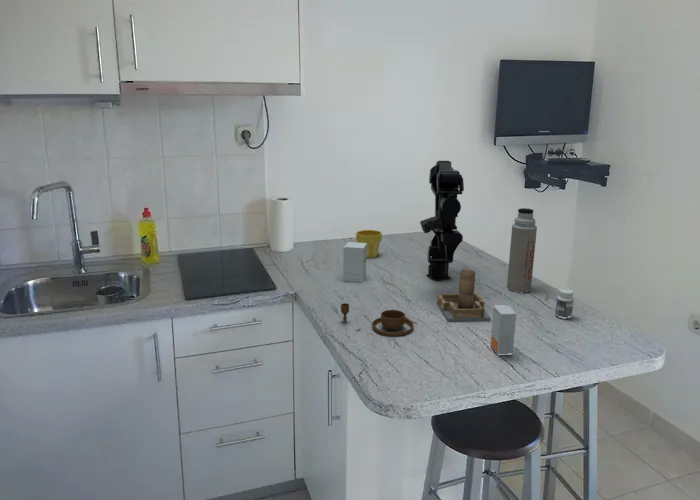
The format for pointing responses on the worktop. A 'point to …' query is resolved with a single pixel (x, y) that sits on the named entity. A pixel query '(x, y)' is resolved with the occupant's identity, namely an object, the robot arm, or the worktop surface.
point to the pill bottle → (564, 303)
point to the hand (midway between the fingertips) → (444, 255)
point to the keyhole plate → (453, 314)
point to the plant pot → (370, 241)
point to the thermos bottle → (522, 251)
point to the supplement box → (354, 261)
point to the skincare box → (503, 329)
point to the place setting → (386, 321)
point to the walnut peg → (466, 289)
